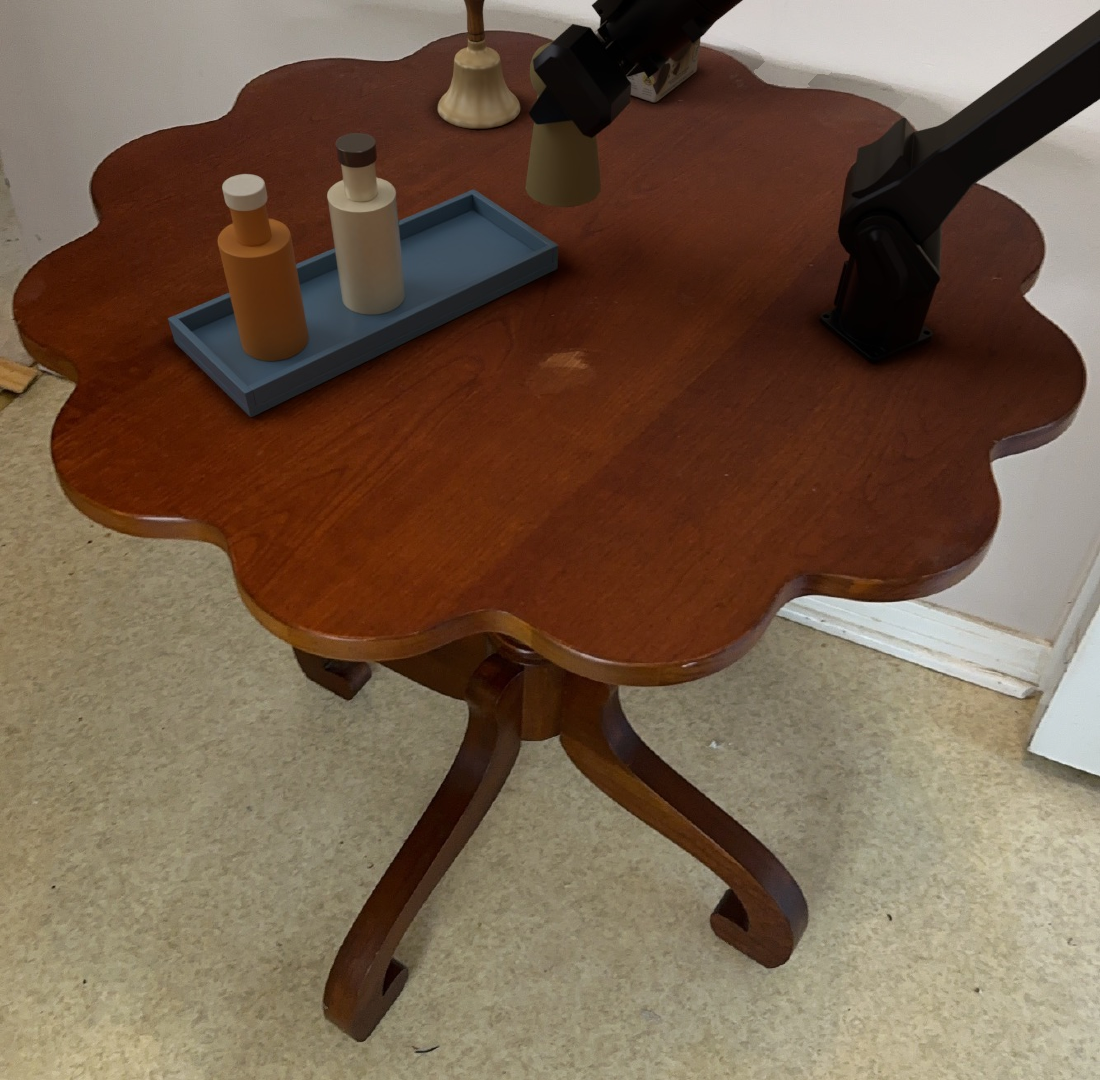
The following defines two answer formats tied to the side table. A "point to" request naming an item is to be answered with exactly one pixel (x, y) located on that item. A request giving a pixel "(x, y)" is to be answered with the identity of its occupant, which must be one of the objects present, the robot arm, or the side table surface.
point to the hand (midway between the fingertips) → (548, 103)
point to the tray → (352, 338)
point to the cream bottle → (365, 230)
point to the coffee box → (666, 74)
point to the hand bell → (478, 82)
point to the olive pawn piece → (561, 160)
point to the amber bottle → (261, 274)
